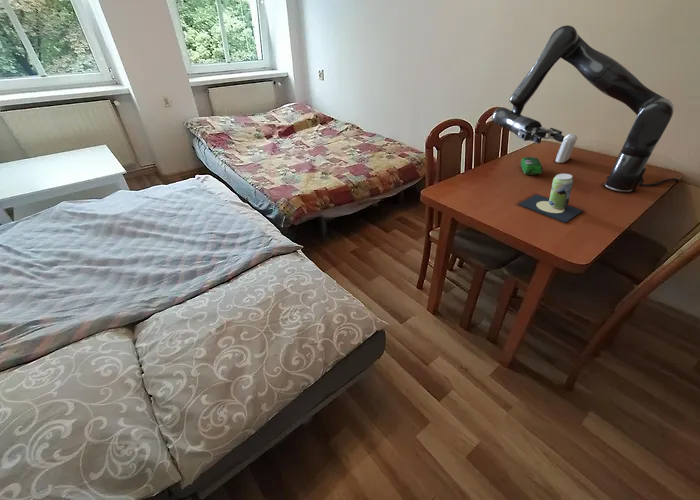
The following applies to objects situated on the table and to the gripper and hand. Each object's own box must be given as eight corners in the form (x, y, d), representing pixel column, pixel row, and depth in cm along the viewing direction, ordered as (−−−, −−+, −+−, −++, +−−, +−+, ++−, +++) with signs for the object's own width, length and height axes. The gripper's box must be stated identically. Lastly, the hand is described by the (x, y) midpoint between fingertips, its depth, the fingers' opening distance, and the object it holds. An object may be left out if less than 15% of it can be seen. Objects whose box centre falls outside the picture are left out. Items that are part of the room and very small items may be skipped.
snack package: (523, 177, 142) (527, 166, 139) (518, 164, 154) (521, 154, 151) (541, 179, 140) (545, 168, 137) (534, 166, 152) (538, 155, 149)
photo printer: (560, 156, 163) (570, 131, 155) (570, 158, 160) (580, 132, 153) (553, 161, 157) (562, 135, 150) (563, 164, 154) (573, 137, 147)
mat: (518, 204, 122) (518, 203, 121) (536, 195, 128) (536, 194, 128) (565, 223, 111) (565, 221, 110) (582, 211, 117) (583, 210, 117)
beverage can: (569, 210, 117) (583, 178, 110) (549, 210, 117) (561, 179, 110) (560, 202, 122) (572, 171, 115) (540, 202, 122) (551, 172, 115)
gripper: (511, 118, 126) (535, 130, 113) (545, 117, 127) (574, 128, 114) (506, 138, 130) (529, 151, 117) (539, 136, 132) (566, 149, 119)
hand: (551, 139), depth 116 cm, fingers open, 8 cm apart
